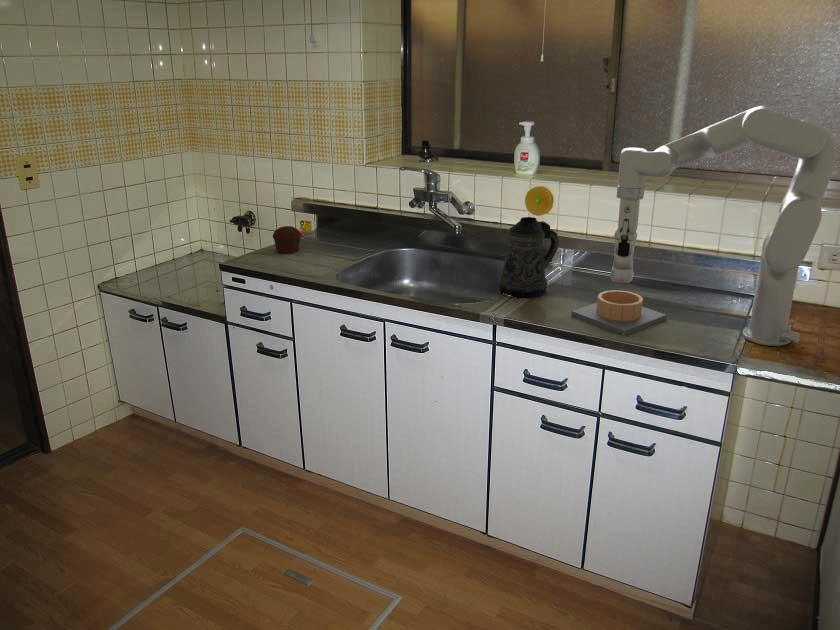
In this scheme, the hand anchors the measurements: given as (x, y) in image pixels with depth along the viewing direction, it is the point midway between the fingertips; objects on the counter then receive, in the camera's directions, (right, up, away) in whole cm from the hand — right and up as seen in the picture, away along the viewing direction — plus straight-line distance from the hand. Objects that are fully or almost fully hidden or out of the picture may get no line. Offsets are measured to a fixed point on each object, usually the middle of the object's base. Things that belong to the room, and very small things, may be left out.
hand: (624, 252), depth 210 cm
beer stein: (-25, -10, +32) cm, 42 cm away
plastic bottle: (0, -9, +4) cm, 10 cm away
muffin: (-114, +7, +79) cm, 139 cm away
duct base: (0, -19, +8) cm, 21 cm away
